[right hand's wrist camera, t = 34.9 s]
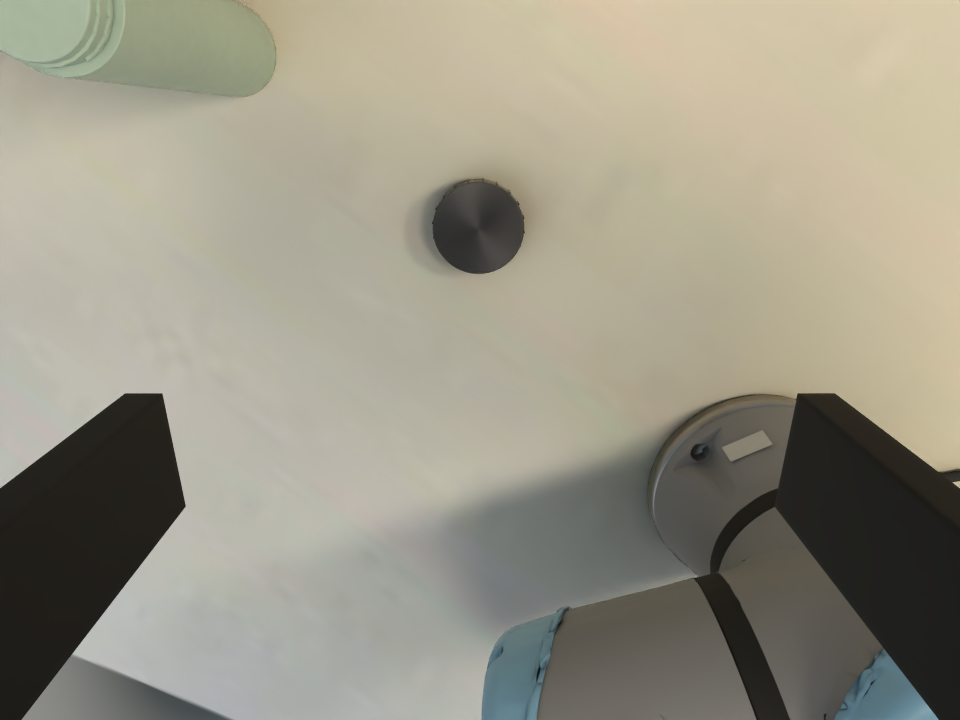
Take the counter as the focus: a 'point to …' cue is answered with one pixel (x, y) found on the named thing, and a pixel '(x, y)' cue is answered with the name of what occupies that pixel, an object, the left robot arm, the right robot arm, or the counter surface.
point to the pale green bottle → (143, 43)
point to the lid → (478, 226)
